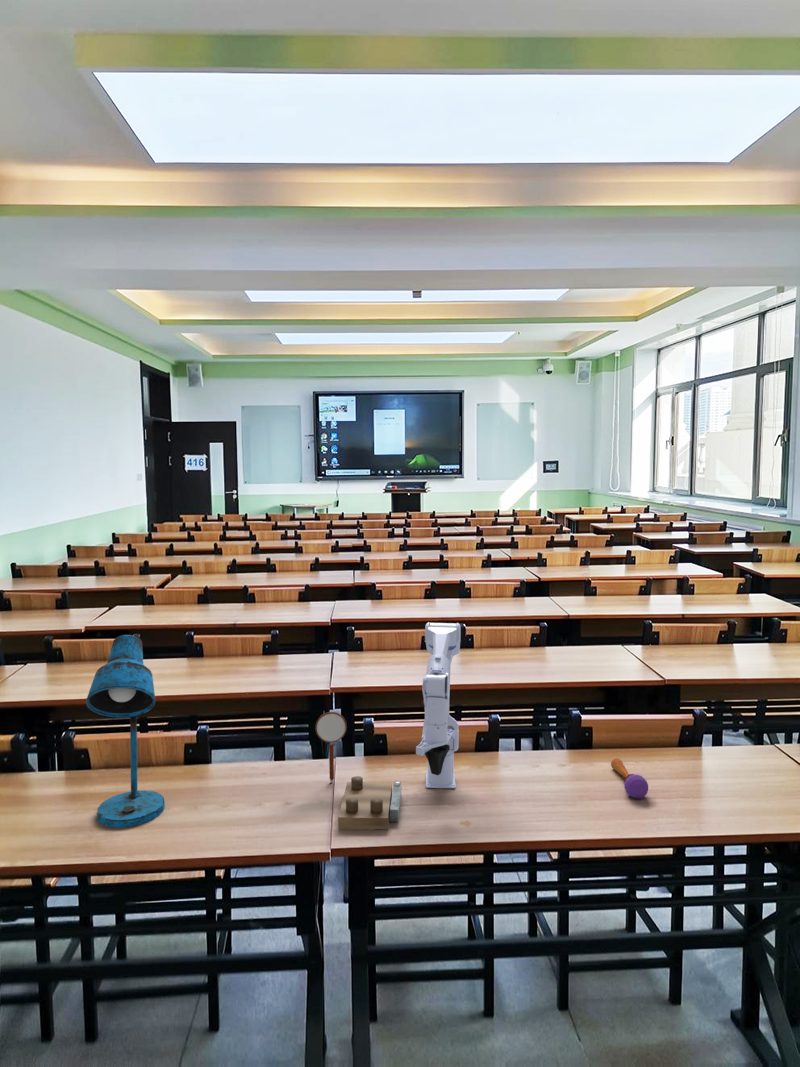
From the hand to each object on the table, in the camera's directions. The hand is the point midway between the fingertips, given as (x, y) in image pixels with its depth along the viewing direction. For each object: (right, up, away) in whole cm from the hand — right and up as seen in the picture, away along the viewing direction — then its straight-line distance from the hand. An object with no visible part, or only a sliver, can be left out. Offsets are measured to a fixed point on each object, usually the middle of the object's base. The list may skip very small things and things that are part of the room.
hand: (436, 773), depth 176 cm
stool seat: (-18, -9, 0) cm, 20 cm away
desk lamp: (-77, -10, -2) cm, 77 cm away
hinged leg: (-10, -9, +2) cm, 14 cm away
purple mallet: (+53, -8, +14) cm, 56 cm away
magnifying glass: (-28, -8, +16) cm, 33 cm away
